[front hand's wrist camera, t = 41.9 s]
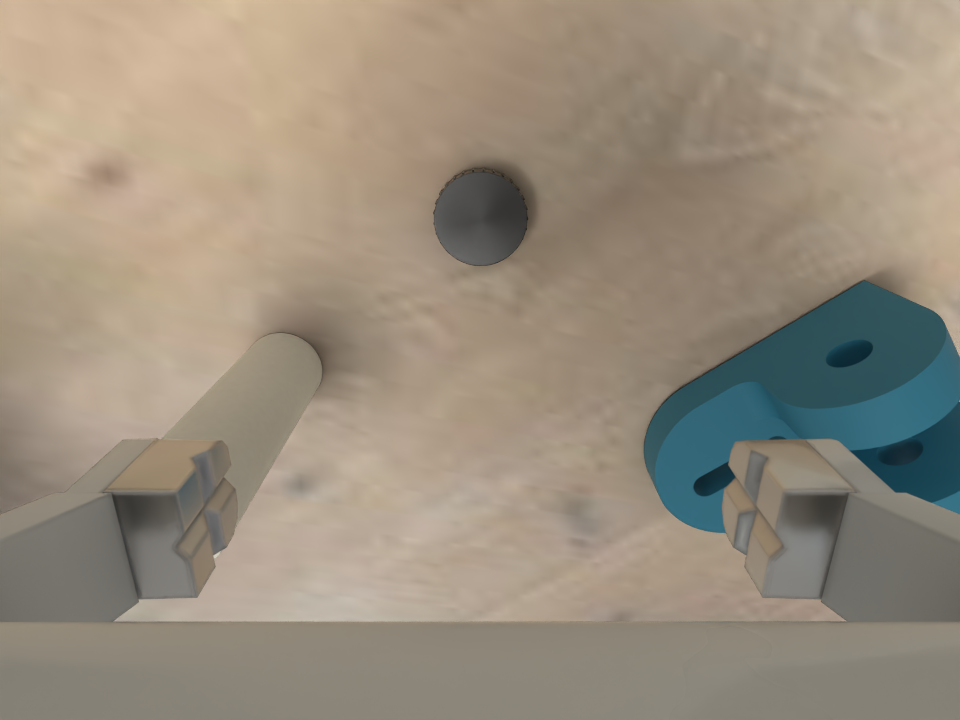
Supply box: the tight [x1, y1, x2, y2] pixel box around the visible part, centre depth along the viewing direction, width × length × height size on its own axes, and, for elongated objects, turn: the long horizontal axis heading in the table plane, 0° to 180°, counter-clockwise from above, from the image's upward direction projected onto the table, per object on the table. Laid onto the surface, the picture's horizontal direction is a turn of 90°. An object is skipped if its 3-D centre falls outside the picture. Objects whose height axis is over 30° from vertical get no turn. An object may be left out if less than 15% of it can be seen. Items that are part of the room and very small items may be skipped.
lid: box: [433, 167, 528, 266], centre depth 37 cm, size 6×6×2 cm
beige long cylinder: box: [162, 333, 322, 559], centre depth 33 cm, size 5×5×19 cm
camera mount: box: [644, 280, 960, 533], centre depth 38 cm, size 18×10×10 cm, turn 125°
